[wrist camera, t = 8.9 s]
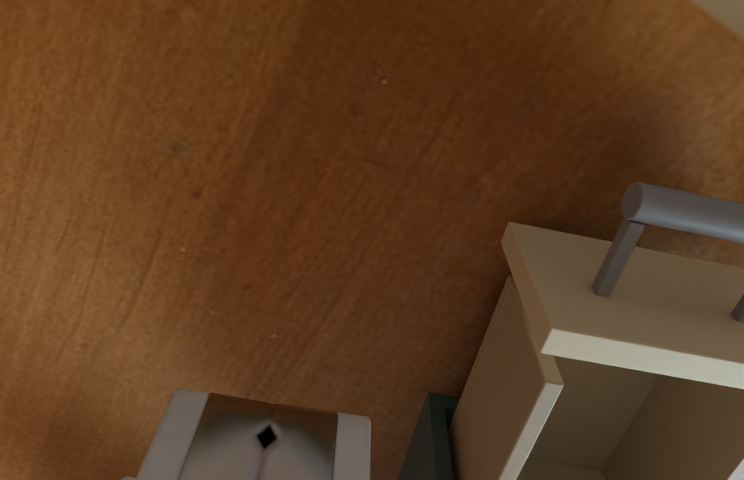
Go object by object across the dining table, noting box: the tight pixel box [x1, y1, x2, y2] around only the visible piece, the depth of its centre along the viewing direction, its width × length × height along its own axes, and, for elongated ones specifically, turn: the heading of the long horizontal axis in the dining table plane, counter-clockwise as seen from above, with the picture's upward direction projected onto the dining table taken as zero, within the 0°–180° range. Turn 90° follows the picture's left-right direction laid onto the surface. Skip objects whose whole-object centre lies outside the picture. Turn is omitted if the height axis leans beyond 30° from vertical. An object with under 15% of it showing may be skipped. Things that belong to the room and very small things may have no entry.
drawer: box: [447, 182, 744, 480], centre depth 26 cm, size 19×12×8 cm, turn 168°
